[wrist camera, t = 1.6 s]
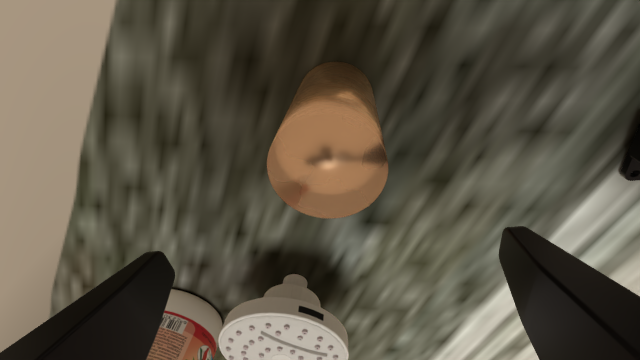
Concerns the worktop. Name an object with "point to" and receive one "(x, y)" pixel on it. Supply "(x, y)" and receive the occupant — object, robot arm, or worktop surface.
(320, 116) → the copper brown cylinder
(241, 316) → the showerhead
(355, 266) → the worktop surface
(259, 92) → the worktop surface
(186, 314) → the fruit juice
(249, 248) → the worktop surface
